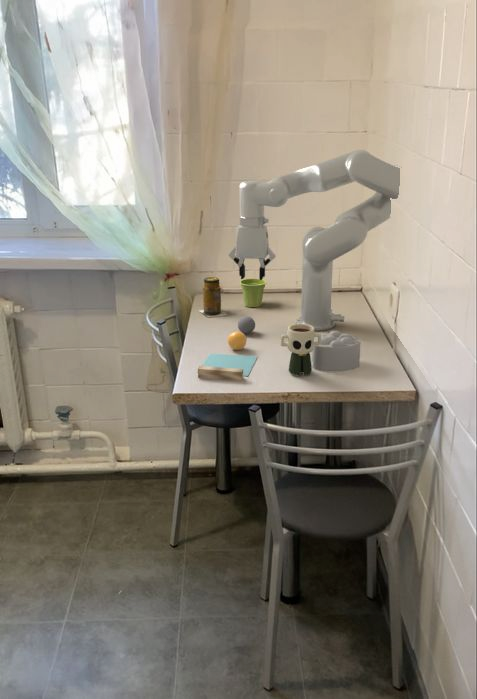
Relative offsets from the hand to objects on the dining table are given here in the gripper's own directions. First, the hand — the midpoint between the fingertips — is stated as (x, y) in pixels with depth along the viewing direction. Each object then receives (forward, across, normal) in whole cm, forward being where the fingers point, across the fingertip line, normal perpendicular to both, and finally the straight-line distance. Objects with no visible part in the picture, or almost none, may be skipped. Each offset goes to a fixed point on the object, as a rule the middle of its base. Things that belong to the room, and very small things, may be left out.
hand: (252, 277), depth 212 cm
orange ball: (+13, 0, +24) cm, 27 cm away
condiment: (+16, +16, -8) cm, 24 cm away
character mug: (+16, -20, +38) cm, 46 cm away
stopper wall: (+15, 0, +44) cm, 47 cm away
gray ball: (+13, 0, +10) cm, 16 cm away
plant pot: (+16, +4, -20) cm, 25 cm away
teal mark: (+15, 0, +36) cm, 39 cm away
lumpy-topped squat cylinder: (+16, -30, +30) cm, 45 cm away
